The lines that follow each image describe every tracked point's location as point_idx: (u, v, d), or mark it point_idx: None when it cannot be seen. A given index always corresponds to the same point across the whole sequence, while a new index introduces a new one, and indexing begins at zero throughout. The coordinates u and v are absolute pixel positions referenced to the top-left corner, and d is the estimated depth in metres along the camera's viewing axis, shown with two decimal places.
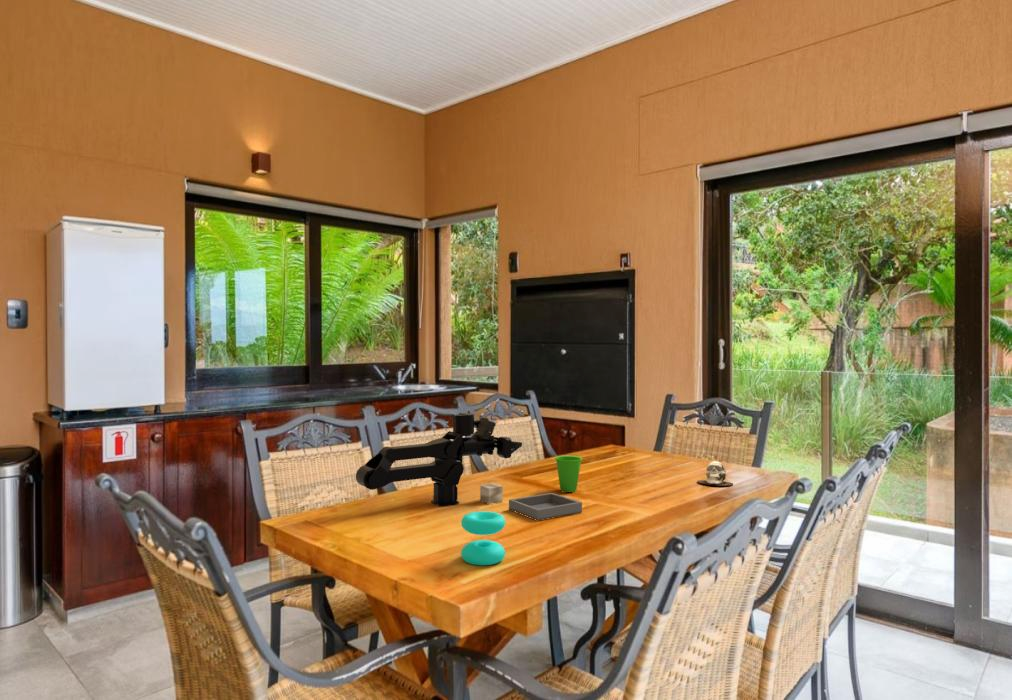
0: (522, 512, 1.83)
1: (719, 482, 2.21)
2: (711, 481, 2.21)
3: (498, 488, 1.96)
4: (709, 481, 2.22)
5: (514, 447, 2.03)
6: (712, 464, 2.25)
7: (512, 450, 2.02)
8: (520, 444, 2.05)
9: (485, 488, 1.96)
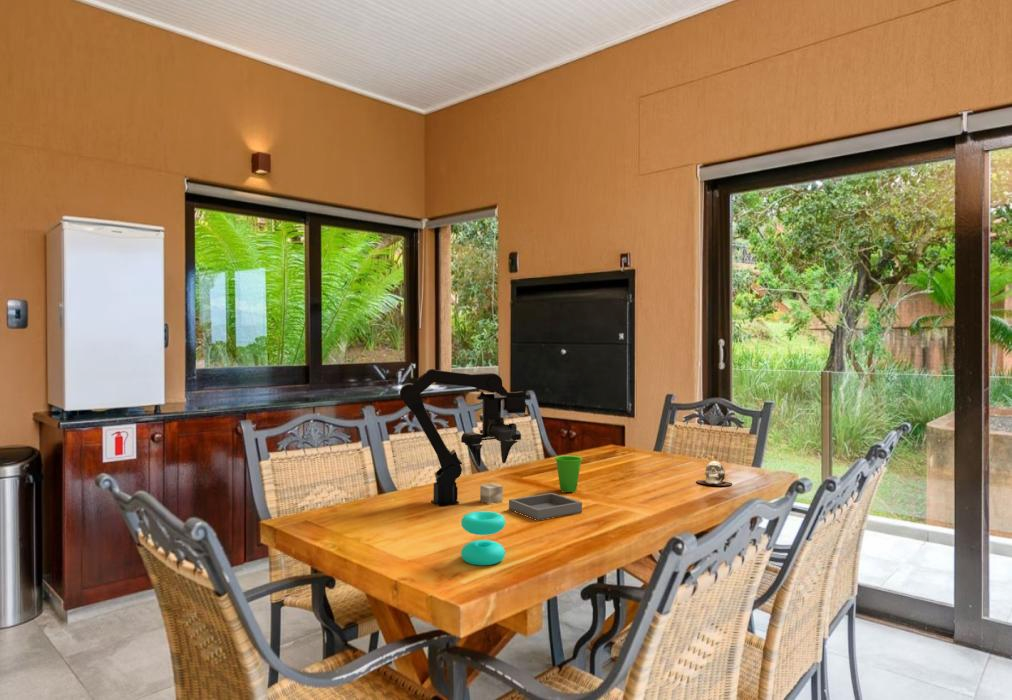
0: (522, 512, 1.83)
1: (718, 482, 2.21)
2: (710, 481, 2.21)
3: (498, 488, 1.96)
4: (708, 481, 2.22)
5: (474, 453, 1.95)
6: (711, 464, 2.25)
7: (472, 450, 1.96)
8: (477, 462, 1.95)
9: (485, 488, 1.96)
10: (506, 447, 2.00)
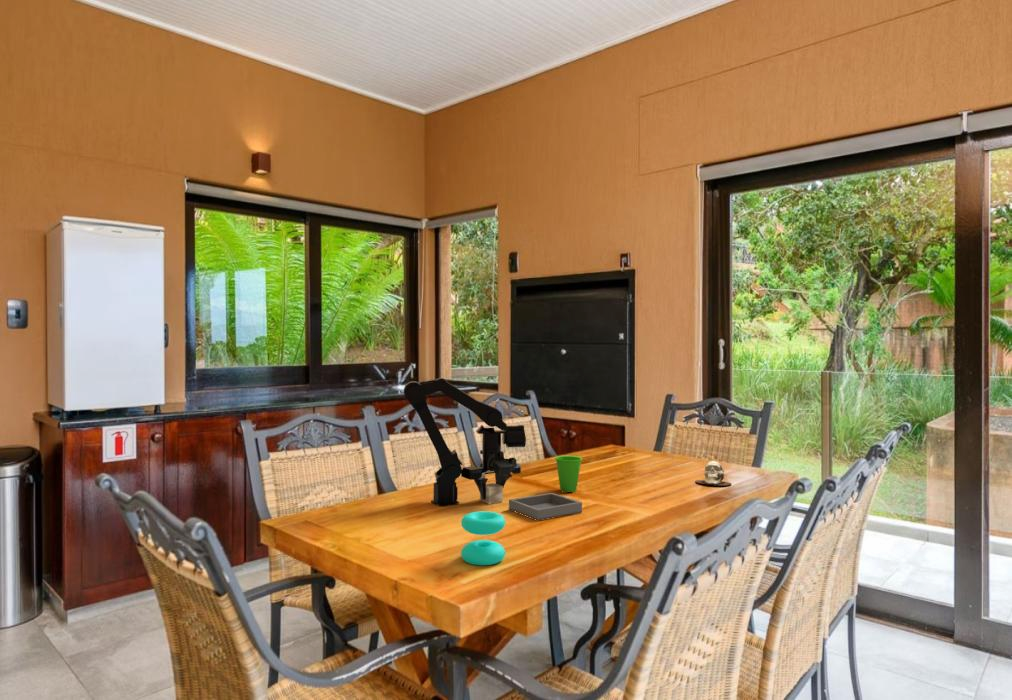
0: (522, 512, 1.83)
1: (717, 482, 2.21)
2: (709, 481, 2.21)
3: (498, 488, 1.96)
4: (707, 481, 2.22)
5: (479, 487, 1.96)
6: (710, 464, 2.25)
7: (477, 483, 1.97)
8: (482, 496, 1.96)
9: None
10: (501, 481, 1.99)
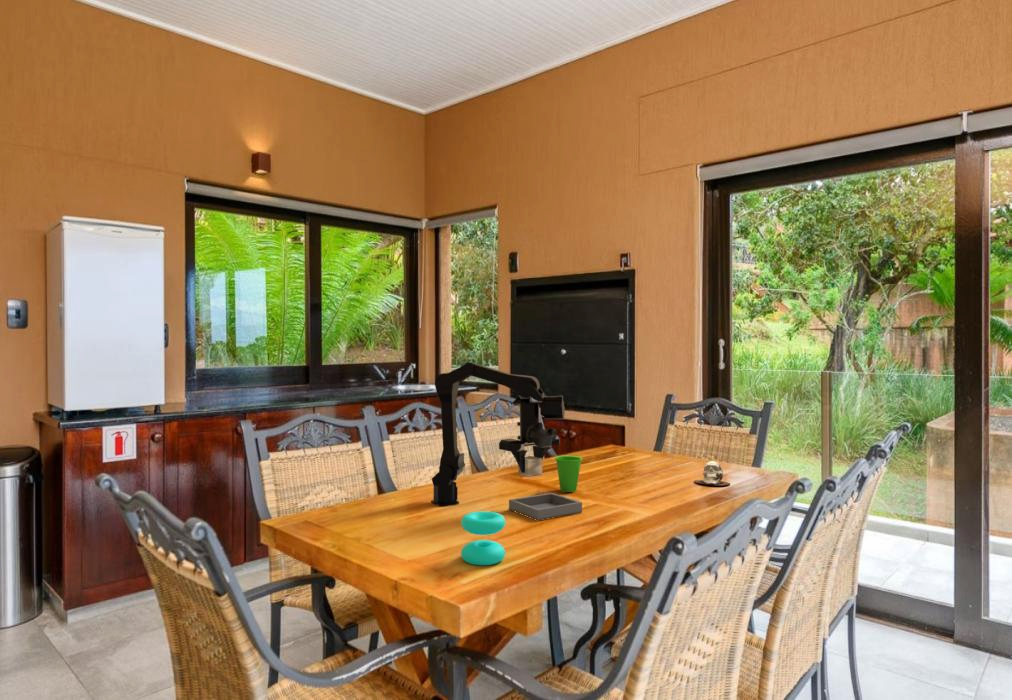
0: (522, 512, 1.83)
1: (716, 482, 2.21)
2: (708, 481, 2.21)
3: (537, 460, 1.89)
4: (706, 481, 2.22)
5: (518, 459, 1.88)
6: (709, 464, 2.25)
7: (515, 456, 1.89)
8: (521, 469, 1.88)
9: None
10: (540, 454, 1.91)
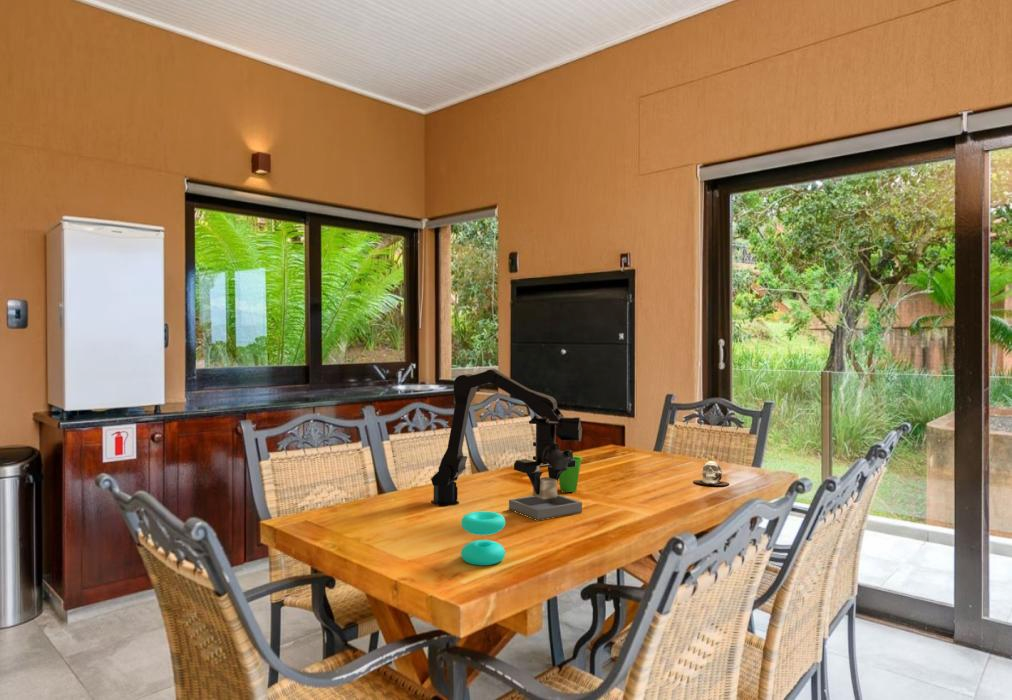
0: (522, 512, 1.83)
1: (715, 482, 2.21)
2: (707, 481, 2.21)
3: (552, 482, 1.85)
4: (705, 481, 2.22)
5: (533, 481, 1.85)
6: (708, 464, 2.25)
7: (530, 477, 1.86)
8: (536, 490, 1.85)
9: None
10: (555, 475, 1.88)
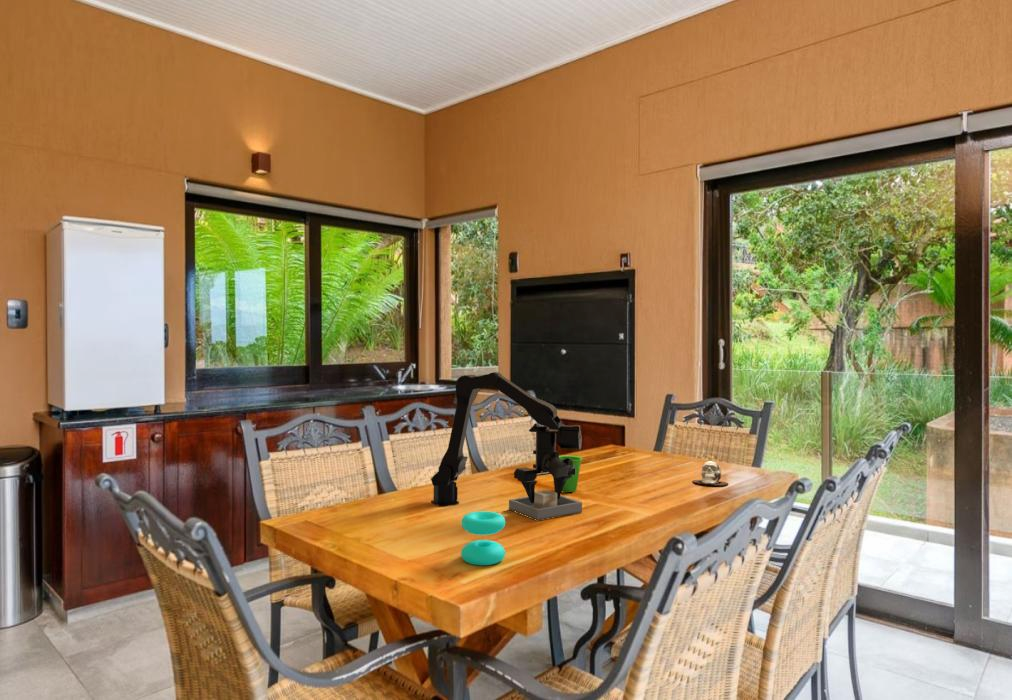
0: (522, 512, 1.83)
1: (714, 482, 2.21)
2: (706, 481, 2.22)
3: (552, 495, 1.86)
4: (704, 481, 2.22)
5: (528, 490, 1.84)
6: (707, 464, 2.25)
7: (525, 486, 1.85)
8: (531, 499, 1.84)
9: (539, 495, 1.85)
10: (560, 482, 1.89)
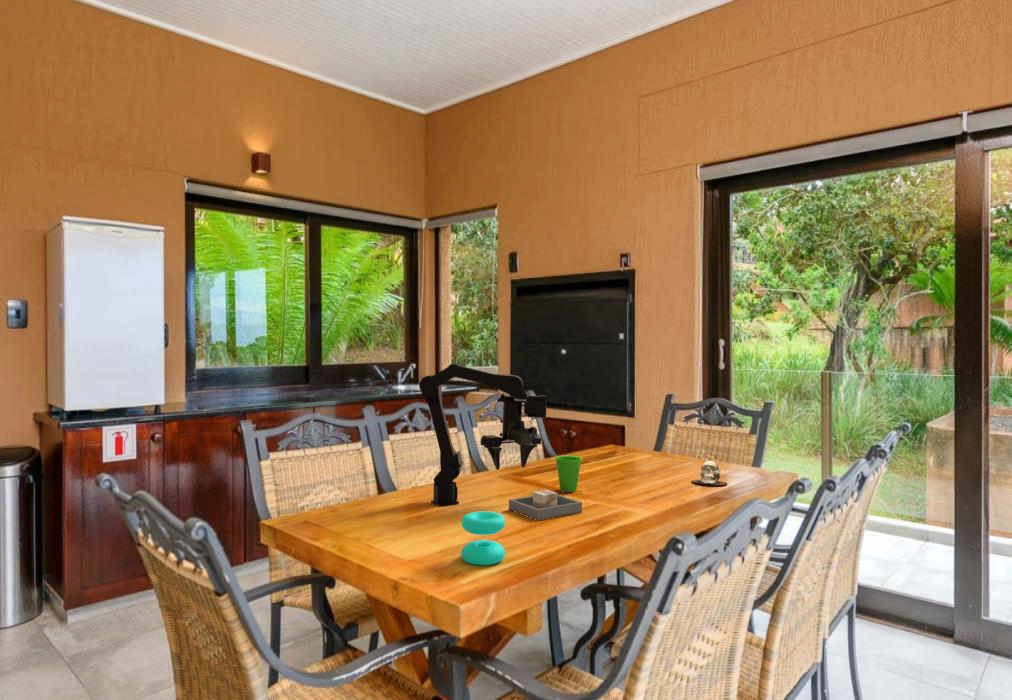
0: (522, 512, 1.83)
1: (713, 482, 2.22)
2: (706, 481, 2.22)
3: (552, 495, 1.86)
4: (704, 481, 2.23)
5: (493, 456, 1.92)
6: (706, 464, 2.25)
7: (491, 453, 1.93)
8: (496, 466, 1.92)
9: (539, 495, 1.85)
10: (526, 451, 1.96)
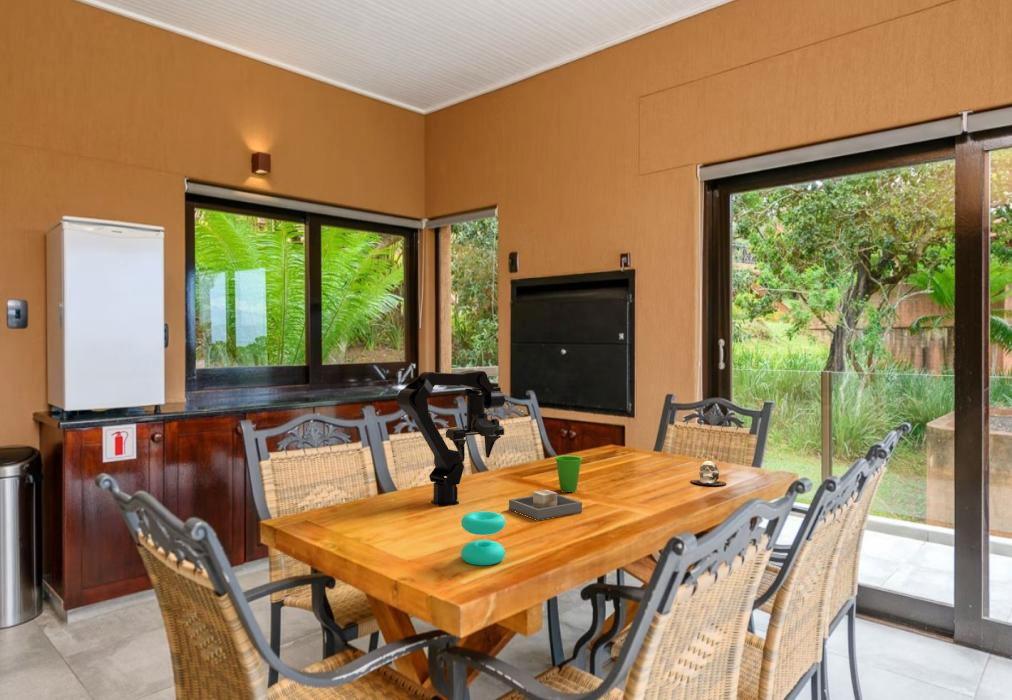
0: (522, 512, 1.83)
1: (712, 482, 2.22)
2: (704, 481, 2.22)
3: (552, 495, 1.86)
4: (702, 481, 2.23)
5: (458, 448, 2.01)
6: (705, 464, 2.25)
7: (456, 445, 2.02)
8: (461, 457, 2.01)
9: (539, 495, 1.85)
10: (490, 442, 2.06)
